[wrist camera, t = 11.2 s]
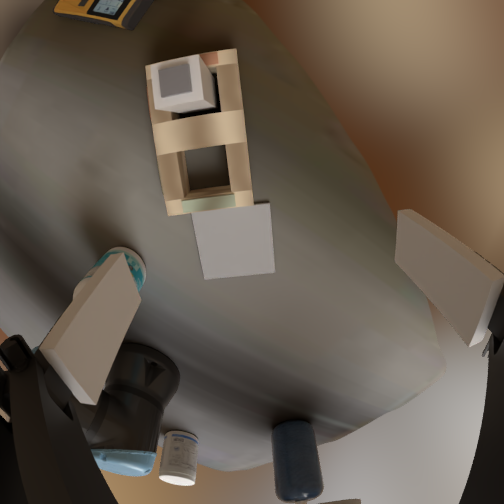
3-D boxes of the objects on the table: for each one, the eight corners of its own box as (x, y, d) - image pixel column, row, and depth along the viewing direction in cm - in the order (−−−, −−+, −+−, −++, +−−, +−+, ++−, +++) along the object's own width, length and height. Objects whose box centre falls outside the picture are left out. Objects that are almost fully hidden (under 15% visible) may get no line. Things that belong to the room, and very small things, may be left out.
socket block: (173, 206, 35) (165, 217, 31) (153, 72, 27) (142, 66, 23) (252, 196, 35) (253, 206, 31) (237, 56, 27) (236, 47, 23)
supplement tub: (183, 445, 65) (178, 486, 52) (158, 432, 62) (150, 476, 49) (206, 439, 63) (203, 484, 50) (180, 426, 60) (173, 474, 46)
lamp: (355, 420, 61) (388, 553, 22) (281, 451, 68) (292, 571, 29) (306, 388, 52) (338, 580, 14) (220, 426, 59) (217, 579, 21)
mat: (205, 277, 40) (204, 279, 39) (191, 211, 35) (191, 212, 35) (274, 270, 39) (275, 272, 39) (269, 202, 35) (269, 203, 35)
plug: (185, 113, 30) (152, 109, 18) (181, 83, 28) (147, 63, 17) (217, 108, 30) (202, 98, 18) (214, 77, 28) (197, 52, 17)
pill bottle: (152, 287, 40) (124, 350, 28) (111, 288, 40) (75, 345, 28) (141, 242, 37) (101, 297, 25) (98, 246, 37) (51, 296, 25)
